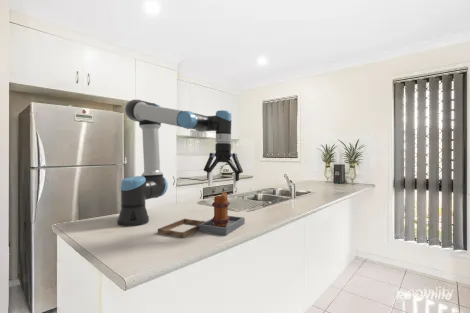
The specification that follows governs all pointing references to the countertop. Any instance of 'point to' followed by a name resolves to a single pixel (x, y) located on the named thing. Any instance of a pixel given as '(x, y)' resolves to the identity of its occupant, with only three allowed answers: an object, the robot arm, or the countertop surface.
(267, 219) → the countertop surface
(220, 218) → the mug
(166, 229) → the wooden picture frame
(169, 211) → the countertop surface
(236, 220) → the tray
